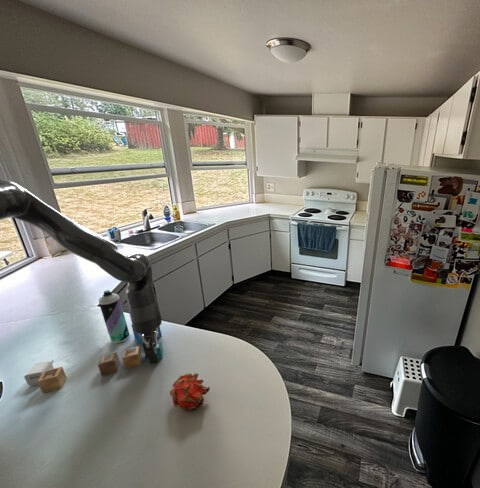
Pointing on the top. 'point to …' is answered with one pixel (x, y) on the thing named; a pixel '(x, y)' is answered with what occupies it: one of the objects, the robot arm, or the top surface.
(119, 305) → the spray can
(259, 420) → the top surface
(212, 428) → the top surface
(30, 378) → the usb wall charger
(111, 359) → the block
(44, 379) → the block
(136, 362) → the block
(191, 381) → the dragon fruit
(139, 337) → the perfume bottle
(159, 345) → the block
